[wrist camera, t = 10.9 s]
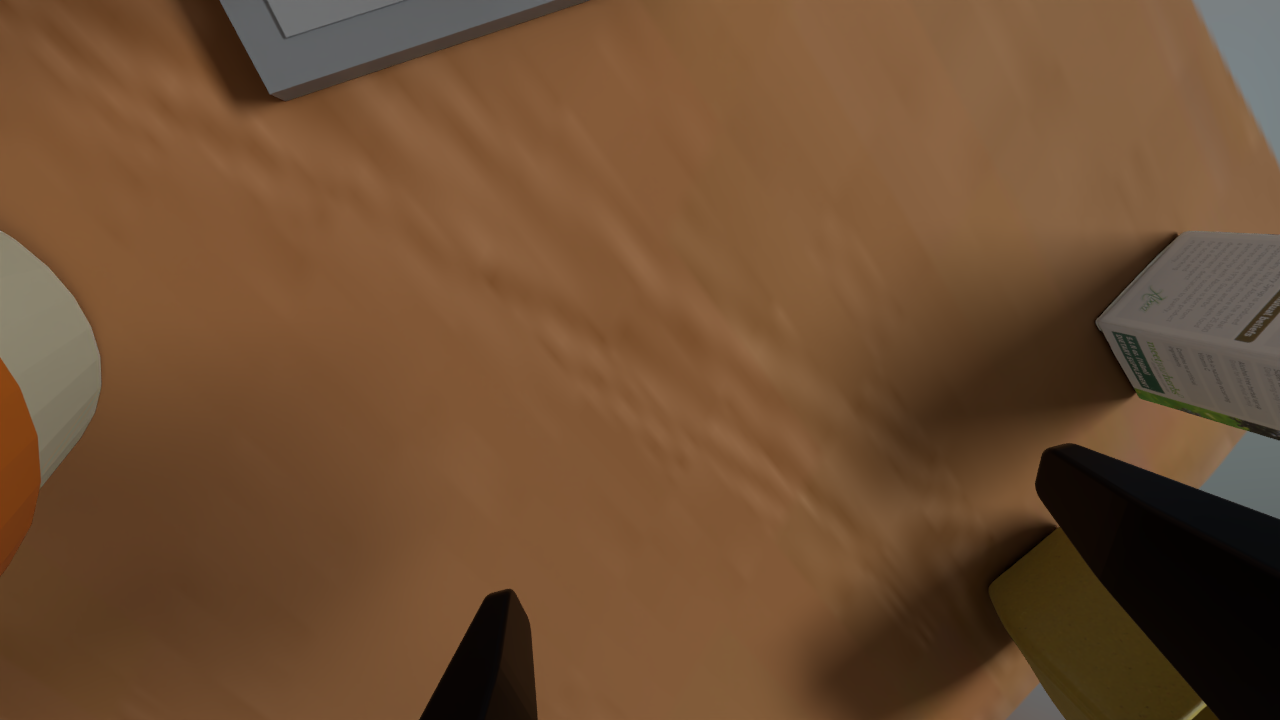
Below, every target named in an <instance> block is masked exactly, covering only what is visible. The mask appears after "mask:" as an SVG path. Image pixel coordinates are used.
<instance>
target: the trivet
mask: <svg viewBox="0 0 1280 720" xmlns="http://www.w3.org/2000/svg"><path fill="white" fill-rule="evenodd" d="M586 1H589V0H220V2H221V4H222V6H223V8H224V10H225V12H226V13H227V15H228V17H229V19H230V21H231V23H232V25H233V27H234V28H235V30H236V32H237V34H238V36H239V38H240V40H241V41H242V43H243V45H244V47H245V49H246V51H247V53H248V55H249V56H250V58H251V60H252V62H253V64H254V66H255V68H256V69H257V71H258V73H259V75H260V77H261V79H262V81H263V82H264V84H265V86H266V88H267V90H268V92H269V94H270V95H273V96H275V97H277V98H279V99H282V100H284V101H288V100H291V99H294V98H297V97H300V96H303V95H306V94H309V93H312V92H315V91H318V90H321V89H324V88H327V87H330V86H333V85H336V84H339V83H342V82H345V81H348V80H351V79H354V78H357V77H360V76H363V75H367V74H370V73H373V72H376V71H379V70H382V69H385V68H388V67H391V66H394V65H397V64H400V63H403V62H406V61H409V60H412V59H415V58H418V57H421V56H424V55H427V54H430V53H433V52H436V51H439V50H442V49H445V48H448V47H451V46H454V45H457V44H460V43H463V42H466V41H469V40H472V39H475V38H478V37H481V36H484V35H487V34H490V33H493V32H496V31H499V30H502V29H505V28H508V27H511V26H514V25H517V24H520V23H523V22H526V21H529V20H532V19H535V18H538V17H541V16H544V15H547V14H550V13H553V12H556V11H559V10H562V9H565V8H568V7H571V6H574V5H577V4H580V3H583V2H586Z"/></svg>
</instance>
